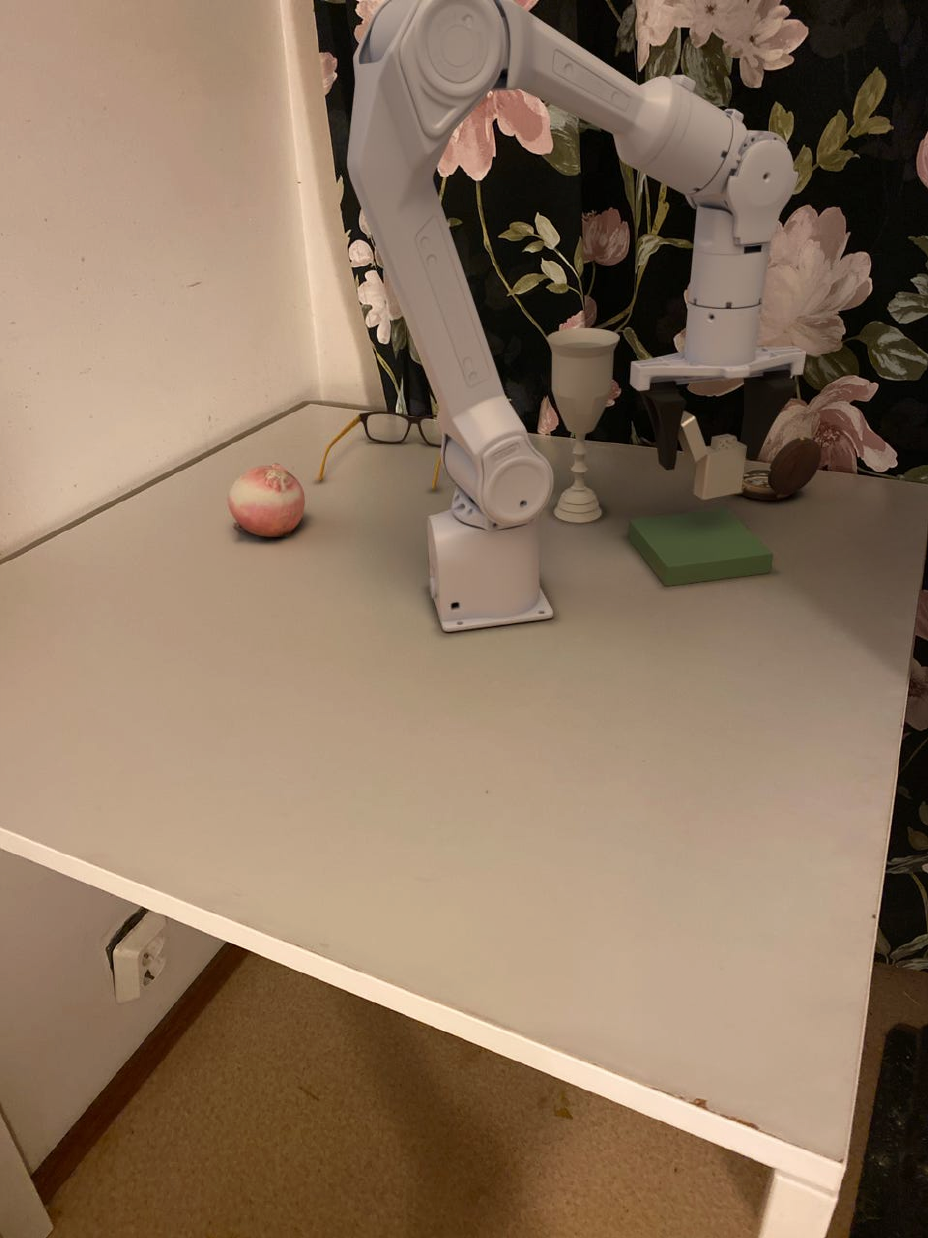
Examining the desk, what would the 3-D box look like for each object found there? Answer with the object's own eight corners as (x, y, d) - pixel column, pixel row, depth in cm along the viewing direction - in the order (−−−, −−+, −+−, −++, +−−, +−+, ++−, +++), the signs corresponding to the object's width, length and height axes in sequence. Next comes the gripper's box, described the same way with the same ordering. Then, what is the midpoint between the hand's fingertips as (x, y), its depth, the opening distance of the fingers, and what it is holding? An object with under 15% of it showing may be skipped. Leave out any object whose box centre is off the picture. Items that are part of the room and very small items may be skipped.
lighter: (730, 484, 80) (741, 399, 76) (742, 491, 78) (754, 405, 74) (664, 498, 78) (671, 412, 74) (674, 506, 76) (682, 418, 72)
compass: (765, 474, 97) (774, 411, 93) (816, 500, 91) (829, 433, 87) (707, 489, 94) (714, 424, 91) (756, 516, 88) (766, 448, 84)
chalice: (614, 526, 88) (624, 346, 78) (547, 528, 88) (549, 349, 78) (606, 496, 94) (614, 326, 84) (543, 498, 94) (544, 329, 85)
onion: (282, 553, 86) (270, 486, 82) (217, 542, 88) (203, 477, 85) (322, 519, 92) (312, 455, 88) (260, 511, 95) (248, 448, 91)
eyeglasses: (470, 446, 109) (469, 415, 107) (434, 491, 97) (432, 458, 95) (365, 439, 112) (362, 409, 110) (318, 482, 101) (313, 449, 99)
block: (665, 586, 77) (667, 566, 76) (627, 537, 85) (628, 519, 84) (770, 572, 78) (773, 553, 77) (723, 526, 87) (725, 507, 86)
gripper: (656, 319, 65) (644, 487, 72) (836, 304, 67) (806, 469, 74) (625, 300, 71) (617, 457, 78) (791, 286, 73) (767, 441, 80)
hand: (707, 461), depth 76 cm, fingers closed on lighter, 7 cm apart
